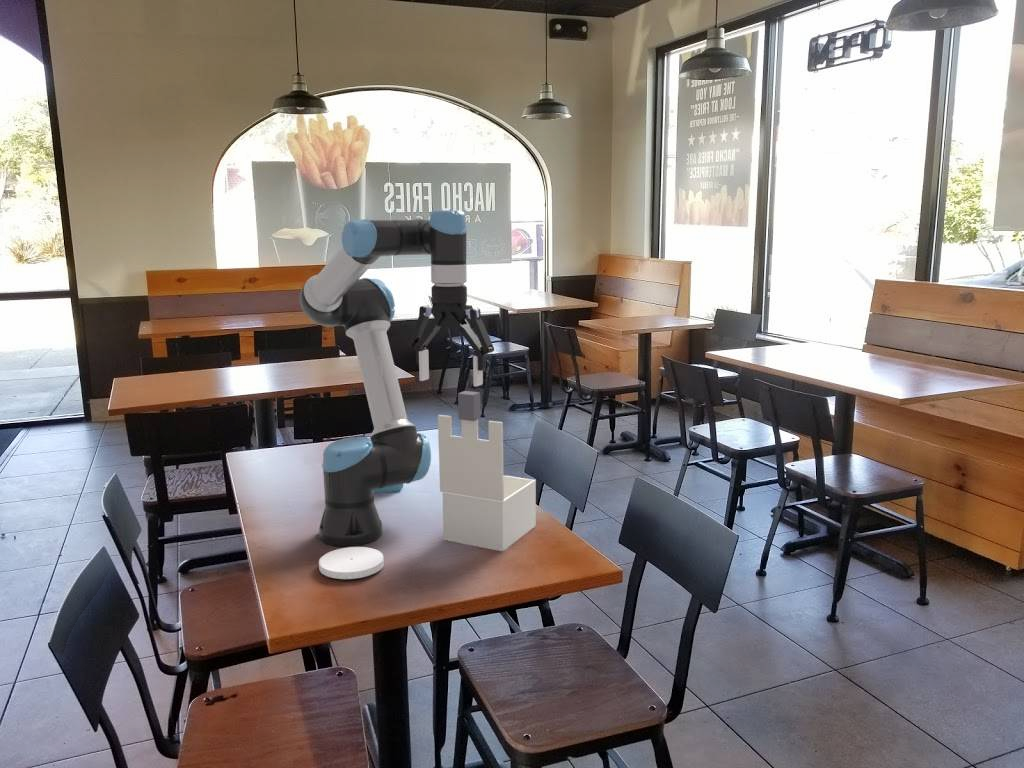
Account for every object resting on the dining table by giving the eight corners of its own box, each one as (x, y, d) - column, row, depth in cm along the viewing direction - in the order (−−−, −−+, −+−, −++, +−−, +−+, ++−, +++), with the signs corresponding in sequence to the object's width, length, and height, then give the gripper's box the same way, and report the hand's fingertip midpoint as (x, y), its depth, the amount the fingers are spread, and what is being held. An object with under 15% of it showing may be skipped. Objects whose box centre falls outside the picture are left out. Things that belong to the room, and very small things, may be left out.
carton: (502, 551, 191) (502, 502, 189) (443, 539, 198) (442, 492, 196) (535, 525, 207) (535, 480, 205) (479, 516, 214) (478, 471, 212)
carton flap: (506, 499, 190) (500, 503, 187) (444, 489, 197) (437, 493, 194) (504, 394, 185) (498, 397, 182) (441, 388, 192) (434, 391, 189)
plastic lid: (394, 574, 180) (393, 563, 180) (332, 589, 173) (331, 577, 173) (369, 552, 192) (369, 542, 191) (310, 565, 185) (310, 555, 184)
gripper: (509, 285, 174) (509, 384, 178) (409, 281, 184) (412, 374, 189) (492, 288, 167) (493, 390, 171) (390, 283, 178) (393, 380, 182)
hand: (450, 382), depth 180 cm, fingers open, 13 cm apart
